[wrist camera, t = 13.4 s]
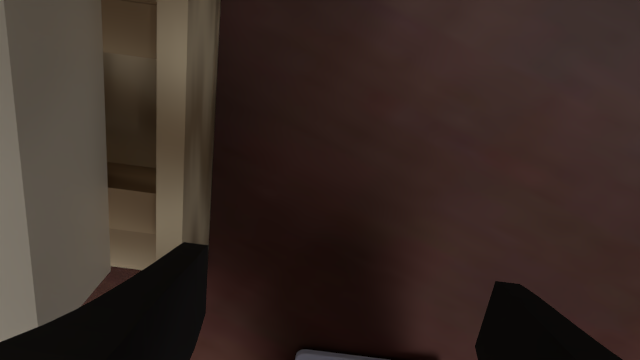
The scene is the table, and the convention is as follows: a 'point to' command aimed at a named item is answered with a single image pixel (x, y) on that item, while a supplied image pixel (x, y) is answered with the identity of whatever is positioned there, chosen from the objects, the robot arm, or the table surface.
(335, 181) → the table surface
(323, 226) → the table surface
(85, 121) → the grayish beige rectangular block
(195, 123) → the wooden compartment tray
